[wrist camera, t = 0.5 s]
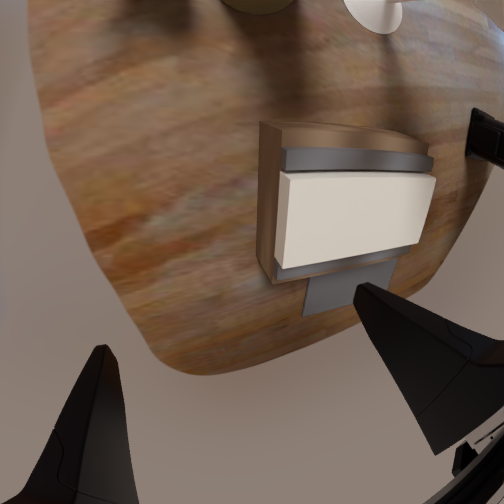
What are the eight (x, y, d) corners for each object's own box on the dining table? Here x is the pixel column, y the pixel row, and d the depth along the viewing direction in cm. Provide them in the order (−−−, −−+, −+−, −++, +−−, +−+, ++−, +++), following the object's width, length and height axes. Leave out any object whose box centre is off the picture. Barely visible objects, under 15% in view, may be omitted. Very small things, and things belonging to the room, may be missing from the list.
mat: (402, 239, 29) (403, 240, 29) (383, 292, 33) (384, 293, 33) (312, 255, 26) (313, 256, 26) (301, 315, 30) (302, 317, 30)
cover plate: (423, 171, 19) (436, 178, 18) (407, 234, 23) (418, 243, 21) (280, 171, 16) (290, 179, 15) (274, 256, 19) (282, 269, 18)
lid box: (396, 131, 21) (436, 146, 17) (375, 236, 27) (405, 262, 23) (259, 121, 18) (287, 132, 14) (256, 254, 24) (275, 291, 20)
